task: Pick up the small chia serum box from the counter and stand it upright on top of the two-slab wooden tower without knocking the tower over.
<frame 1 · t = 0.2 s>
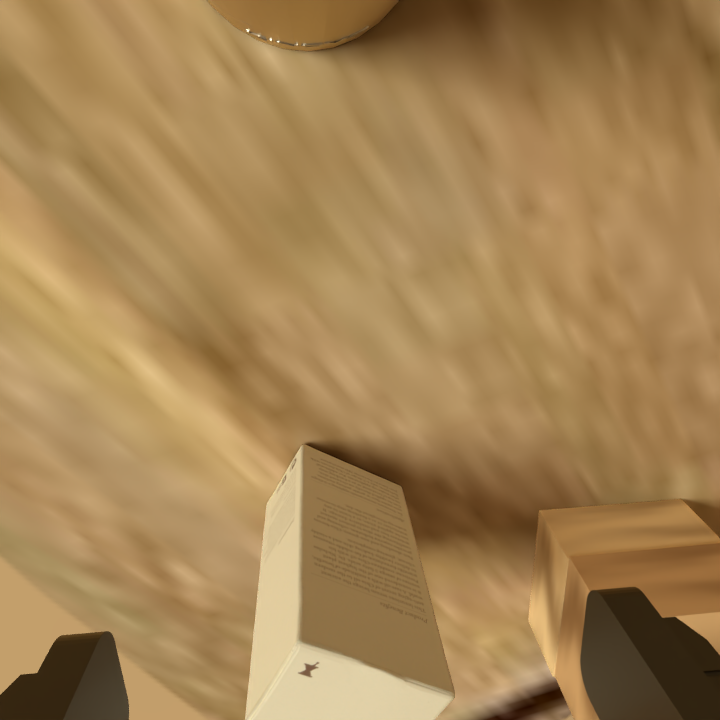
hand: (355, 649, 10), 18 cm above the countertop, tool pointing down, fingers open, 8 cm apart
block lower: (600, 559, 33), on the countertop, touching tan square block
skincare box: (335, 492, 30), on the countertop
tan square block: (637, 611, 30), point 4 cm above the countertop, touching block lower
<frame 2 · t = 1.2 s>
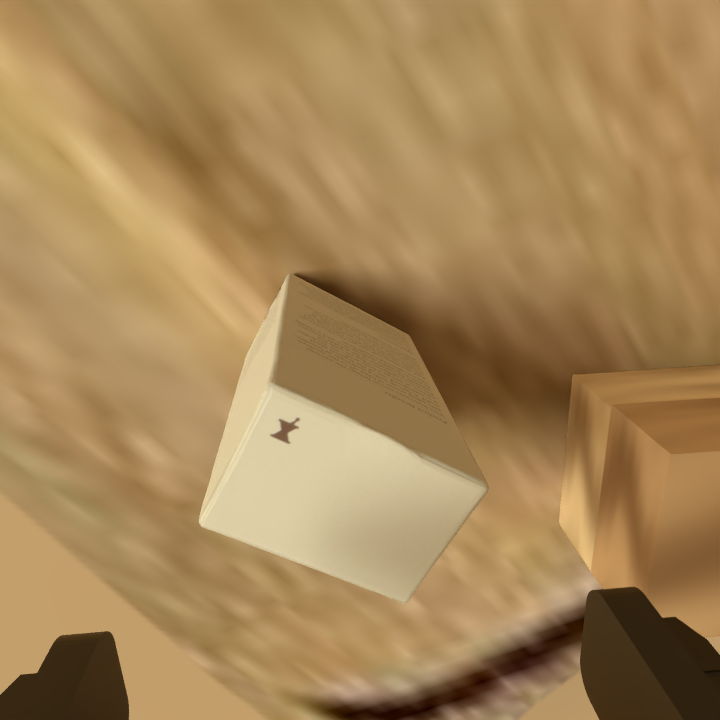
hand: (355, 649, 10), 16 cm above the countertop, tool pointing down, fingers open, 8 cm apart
block lower: (643, 444, 28), on the countertop
skincare box: (329, 344, 25), on the countertop
tan square block: (693, 485, 24), point 4 cm above the countertop
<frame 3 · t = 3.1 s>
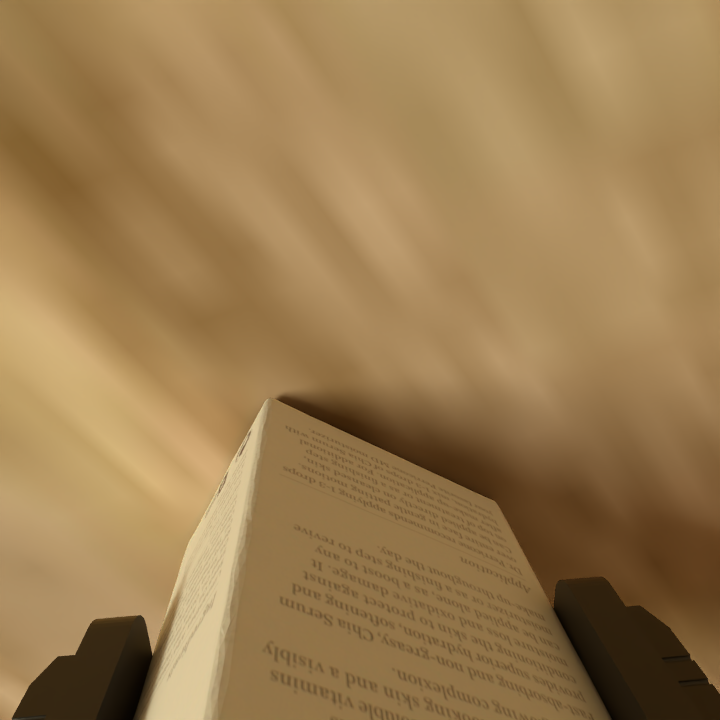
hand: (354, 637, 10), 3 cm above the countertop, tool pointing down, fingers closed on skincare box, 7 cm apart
skincare box: (346, 517, 13), on the countertop, touching gripper
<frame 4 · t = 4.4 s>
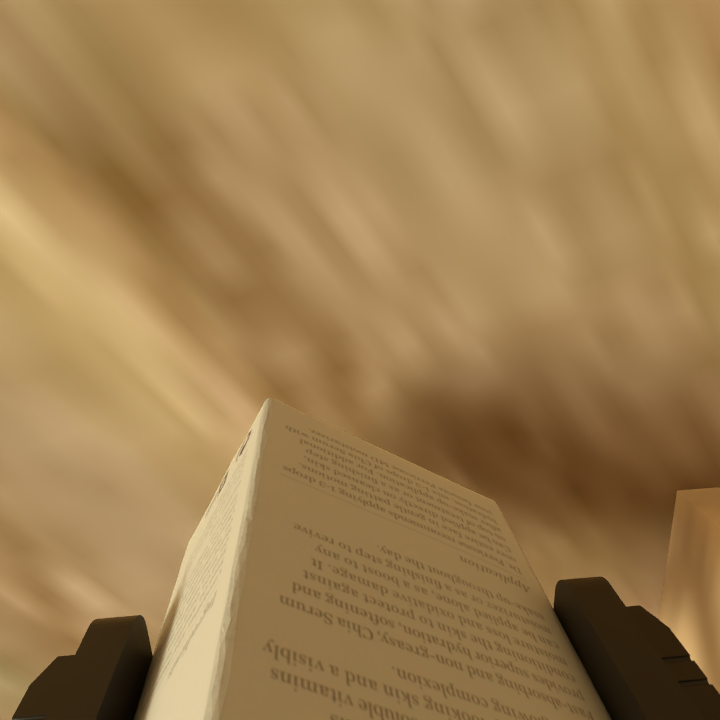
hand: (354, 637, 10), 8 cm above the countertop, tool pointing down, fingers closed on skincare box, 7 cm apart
skincare box: (346, 516, 13), point 4 cm above the countertop, touching gripper
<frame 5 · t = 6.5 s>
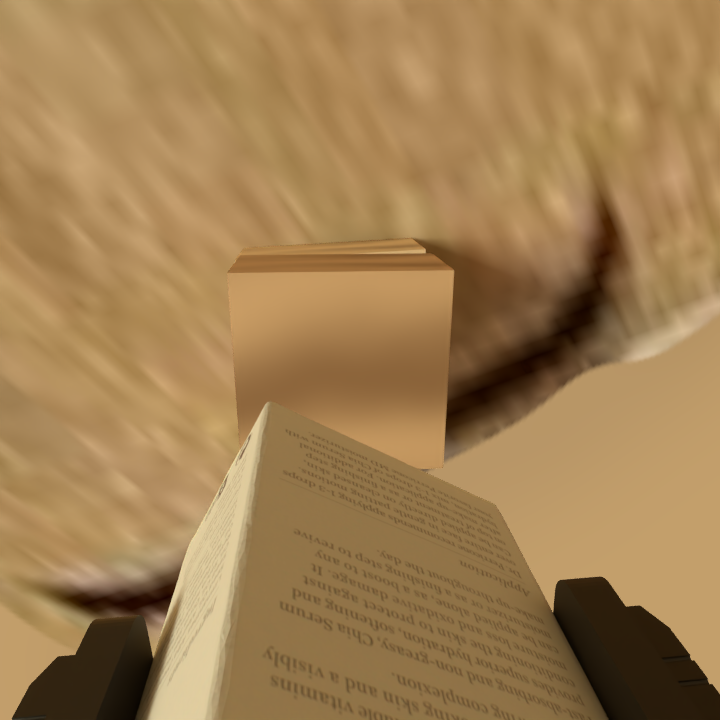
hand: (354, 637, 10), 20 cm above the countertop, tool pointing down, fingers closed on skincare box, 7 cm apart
block lower: (333, 321, 29), on the countertop, touching tan square block
skincare box: (346, 519, 13), point 16 cm above the countertop, touching gripper
tan square block: (338, 345, 25), point 4 cm above the countertop, touching block lower
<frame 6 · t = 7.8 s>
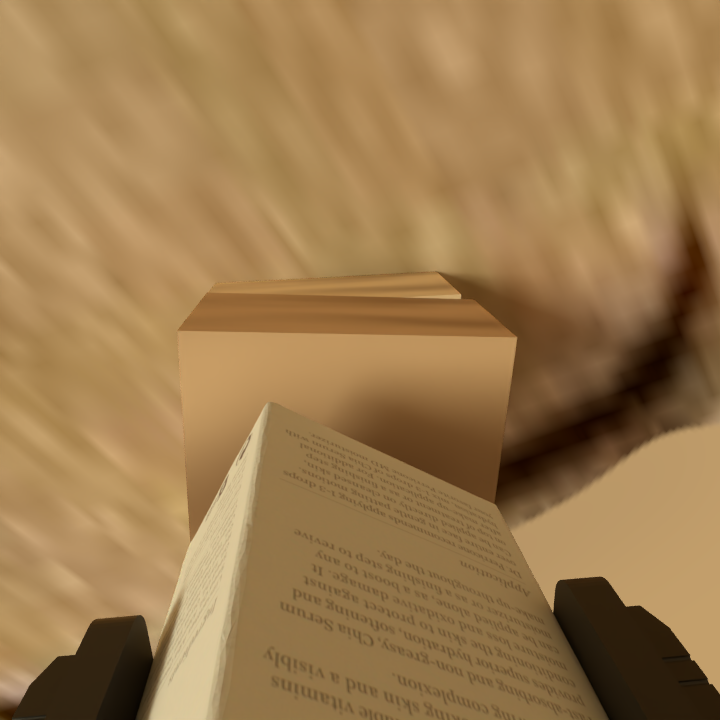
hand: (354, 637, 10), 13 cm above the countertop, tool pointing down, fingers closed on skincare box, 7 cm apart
block lower: (333, 378, 22), on the countertop, touching tan square block
skincare box: (346, 520, 13), point 9 cm above the countertop, touching gripper
tan square block: (339, 417, 19), point 4 cm above the countertop, touching block lower
when the fingers open (12 cm above the countertop, at t = 8.9 s): skincare box drops 1 cm, resting on tan square block.
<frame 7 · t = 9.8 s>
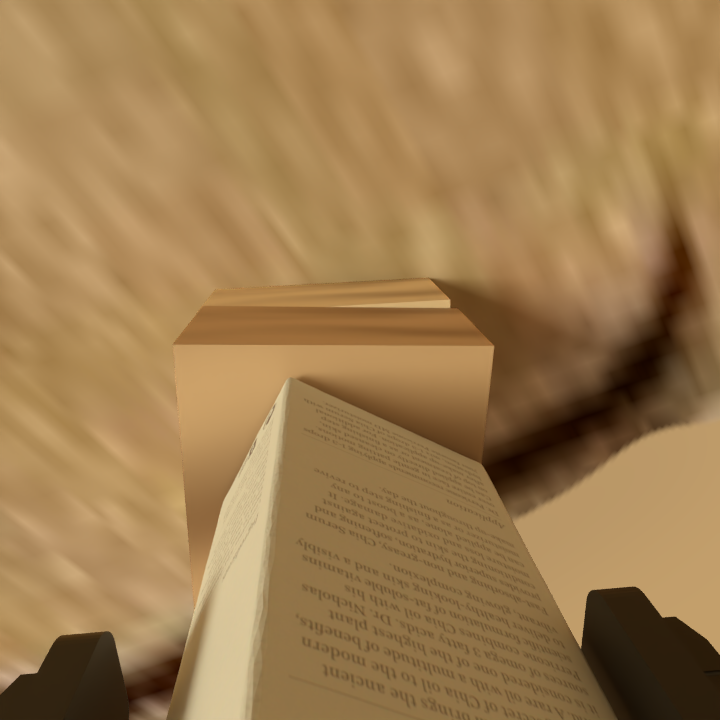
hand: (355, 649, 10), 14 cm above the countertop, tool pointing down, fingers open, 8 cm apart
block lower: (329, 380, 23), on the countertop, touching tan square block
skincare box: (355, 479, 16), point 7 cm above the countertop, touching tan square block
tan square block: (331, 422, 19), point 4 cm above the countertop, touching block lower, skincare box
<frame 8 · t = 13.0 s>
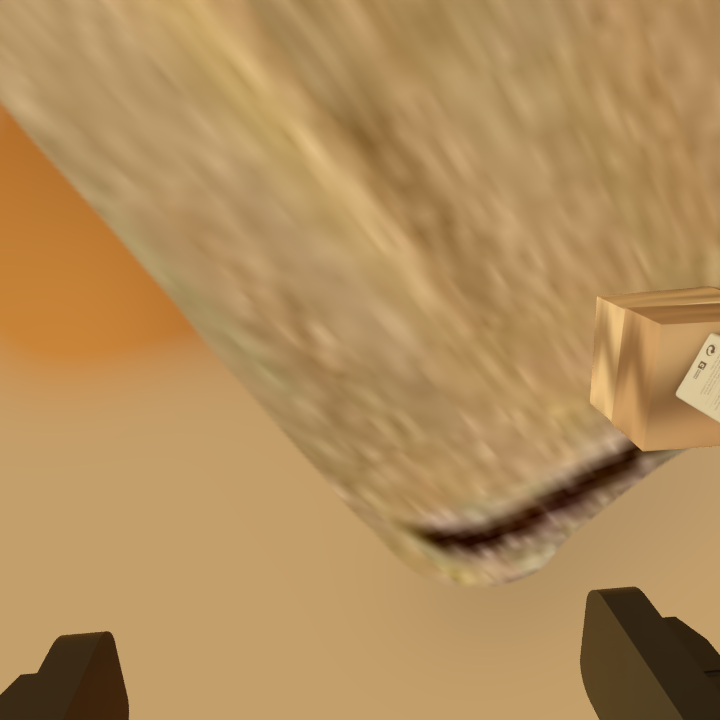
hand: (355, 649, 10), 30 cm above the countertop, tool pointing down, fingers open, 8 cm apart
block lower: (645, 344, 42), on the countertop, touching tan square block
tan square block: (676, 363, 38), point 4 cm above the countertop, touching block lower
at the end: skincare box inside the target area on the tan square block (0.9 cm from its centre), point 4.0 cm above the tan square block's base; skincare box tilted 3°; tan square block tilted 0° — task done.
